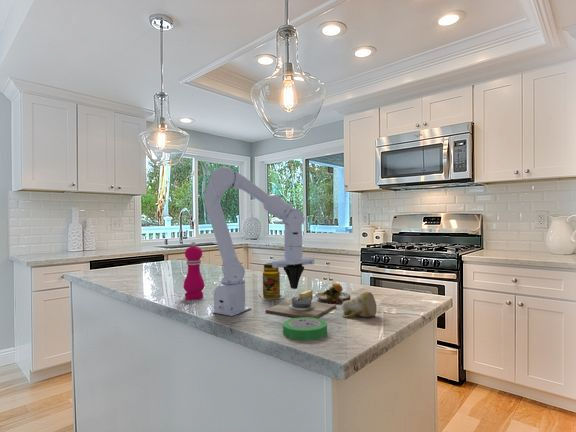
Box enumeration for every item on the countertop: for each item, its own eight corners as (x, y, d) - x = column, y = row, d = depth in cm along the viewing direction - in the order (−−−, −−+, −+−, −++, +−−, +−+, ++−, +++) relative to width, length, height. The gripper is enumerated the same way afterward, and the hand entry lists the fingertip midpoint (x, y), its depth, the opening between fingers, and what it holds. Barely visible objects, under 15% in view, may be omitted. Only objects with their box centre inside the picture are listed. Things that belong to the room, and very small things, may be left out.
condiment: (264, 300, 127) (263, 265, 127) (258, 295, 135) (258, 262, 135) (284, 298, 129) (284, 264, 129) (277, 293, 137) (277, 261, 137)
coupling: (305, 308, 110) (305, 296, 110) (288, 306, 113) (288, 294, 113) (318, 302, 117) (318, 291, 117) (302, 299, 121) (302, 289, 121)
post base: (312, 320, 103) (312, 316, 103) (265, 312, 111) (265, 308, 111) (335, 307, 117) (335, 303, 117) (292, 301, 125) (292, 297, 125)
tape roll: (274, 335, 91) (274, 325, 91) (297, 324, 101) (297, 314, 100) (313, 344, 85) (312, 333, 85) (334, 331, 94) (334, 321, 94)
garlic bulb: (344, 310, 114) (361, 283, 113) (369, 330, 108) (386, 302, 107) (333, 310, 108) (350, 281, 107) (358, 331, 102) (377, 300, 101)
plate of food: (325, 295, 135) (324, 274, 135) (355, 298, 129) (355, 277, 129) (309, 302, 125) (309, 280, 125) (342, 306, 119) (342, 283, 119)
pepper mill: (199, 300, 127) (198, 242, 126) (179, 300, 128) (179, 242, 128) (207, 296, 134) (207, 241, 134) (189, 295, 135) (188, 241, 135)
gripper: (279, 248, 111) (279, 293, 111) (319, 245, 118) (319, 287, 118) (268, 246, 117) (269, 289, 117) (307, 244, 124) (308, 284, 124)
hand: (293, 288), depth 118 cm, fingers closed
